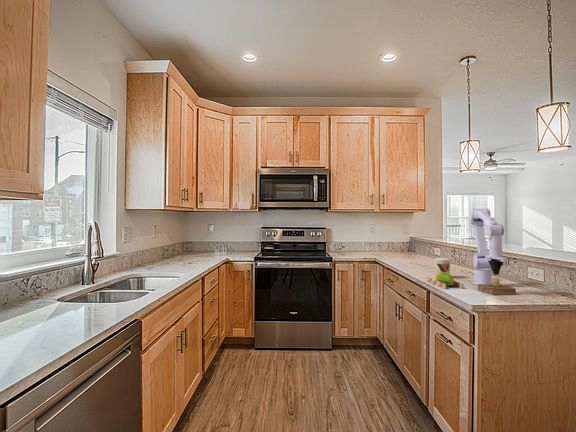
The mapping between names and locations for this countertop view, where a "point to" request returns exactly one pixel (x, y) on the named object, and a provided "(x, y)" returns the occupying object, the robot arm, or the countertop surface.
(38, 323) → the countertop surface
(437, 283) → the chock rails
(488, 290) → the walnut block
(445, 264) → the coffee cup
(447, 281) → the green orange papaya
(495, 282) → the peg
